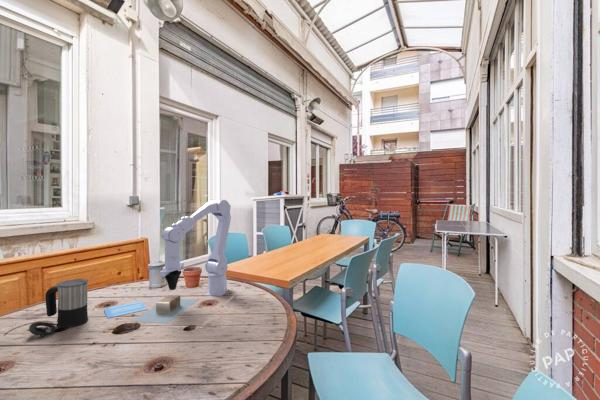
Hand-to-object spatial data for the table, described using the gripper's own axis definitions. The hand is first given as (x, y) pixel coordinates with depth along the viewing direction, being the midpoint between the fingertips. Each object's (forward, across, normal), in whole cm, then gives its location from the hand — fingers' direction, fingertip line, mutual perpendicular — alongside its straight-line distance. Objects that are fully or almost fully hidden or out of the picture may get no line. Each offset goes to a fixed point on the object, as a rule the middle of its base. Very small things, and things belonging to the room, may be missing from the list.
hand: (172, 289), depth 122 cm
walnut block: (+5, -1, 0) cm, 5 cm away
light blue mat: (+7, +4, 0) cm, 8 cm away
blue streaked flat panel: (+8, +6, -17) cm, 20 cm away
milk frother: (+8, +22, -29) cm, 37 cm away
